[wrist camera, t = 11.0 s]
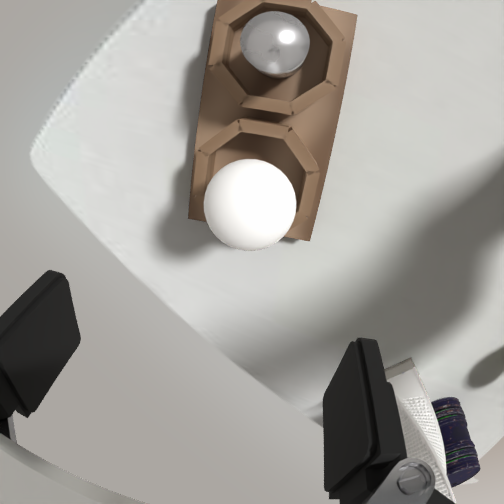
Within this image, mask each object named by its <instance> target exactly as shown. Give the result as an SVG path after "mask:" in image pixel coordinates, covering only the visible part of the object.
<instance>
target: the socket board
mask: <svg viewBox="0 0 504 504" xmlns="http://www.w3.org/2000/svg"><path fill="white" fill-rule="evenodd" d="M311 1H312V0H218V1H217V6H216V11H215V16H214V22H213V27H212V33H211V38H210V44H209V50H208V56H207V62H206V68H205V75H204V81H203V88H202V95H201V102H200V110H199V118H198V125H197V134H196V142H195V151H194V160H193V170H192V180H191V190H190V202H189V214H188V219H194V220H199V221H205V222H207V220H206V217H205V213H204V198H205V192H206V189H207V187H208V184H209V182H210V181H211V179H212V178H213V176H214V175H215V174H216V173H217V172H218V171H219V170H220V169H221V168H223V167H224V166H226V165H228V164H229V163H232V162H235V161H238V160H243V159H256V160H261V161H265V162H267V163H270V164H272V165H273V166H275V167H276V168H278V169H279V170H281V171H282V172H283V173H284V175H285V176H286V177H287V178H288V180H289V181H290V183H291V184H292V187H293V189H294V192H295V197H296V213H295V217H294V221H293V223H292V225H291V227H290V228H289V230H288V232H287V233H286V234H285V235H284V236H285V237H290V238H295V239H300V240H305V241H310V238H311V235H312V231H313V227H314V223H315V219H316V215H317V211H318V207H319V203H320V199H321V194H322V190H323V186H324V182H325V178H326V173H327V169H328V165H329V160H330V156H331V151H332V147H333V142H334V138H335V133H336V128H337V124H338V119H339V114H340V109H341V104H342V99H343V94H344V89H345V84H346V79H347V73H348V68H349V62H350V57H351V51H352V45H353V39H354V33H355V27H356V21H357V15H356V14H352V13H348V12H345V11H341V10H337V9H332V8H328V7H323V6H319V4H318V3H317V2H316V1H314V2H312V3H311ZM270 11H279V12H284V13H287V14H290V15H292V16H294V17H295V18H297V19H298V20H299V21H300V22H301V23H302V24H303V25H304V26H305V28H306V30H307V32H308V34H309V39H310V46H309V51H308V53H307V56H306V58H305V60H304V63H303V65H302V67H301V69H300V70H299V71H298V72H297V73H296V74H294V75H293V76H291V77H288V78H284V79H274V78H270V77H267V76H265V75H263V74H262V73H261V72H260V71H258V70H257V69H256V68H255V67H254V66H253V65H252V64H251V63H249V61H248V60H247V59H246V58H245V56H244V55H243V53H242V50H241V46H240V37H241V33H242V30H243V28H244V27H245V25H246V24H247V23H248V22H249V21H250V20H251V19H252V18H253V17H255V16H257V15H259V14H261V13H265V12H270Z"/></svg>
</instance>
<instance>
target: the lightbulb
mask: <svg viewBox="0 0 504 504" xmlns="http://www.w3.org/2000/svg"><path fill="white" fill-rule="evenodd" d="M204 213H205V217H206V220H207V223H208V225H209V227H210V229H211V230H212V232H213V233H214V235H215V236H216V237H217V238H218V239H220V240H221V241H222V242H223V243H225V244H227V245H228V246H230V247H233V248H235V249H239V250H243V251H255V250H261V249H264V248H268V247H269V246H271V245H273V244H275V243H276V242H278V241H279V240H280V239H281V238H283V236H284V235H285V234H286V233H287V232H288V230H289V228H290V227H291V225H292V223H293V221H294V217H295V213H296V197H295V192H294V189H293V187H292V184H291V183H290V181H289V180H288V178H287V177H286V176H285V175H284V173H283V172H282V171H281V170H279V169H278V168H276V167H275V166H273V165H272V164H270V163H267V162H265V161H261V160H256V159H243V160H238V161H235V162H232V163H229V164H228V165H226V166H224V167H223V168H221V169H220V170H219V171H218V172H217V173H216V174H215V175H214V176H213V178H212V179H211V181H210V182H209V184H208V187H207V189H206V192H205V198H204Z"/></svg>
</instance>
